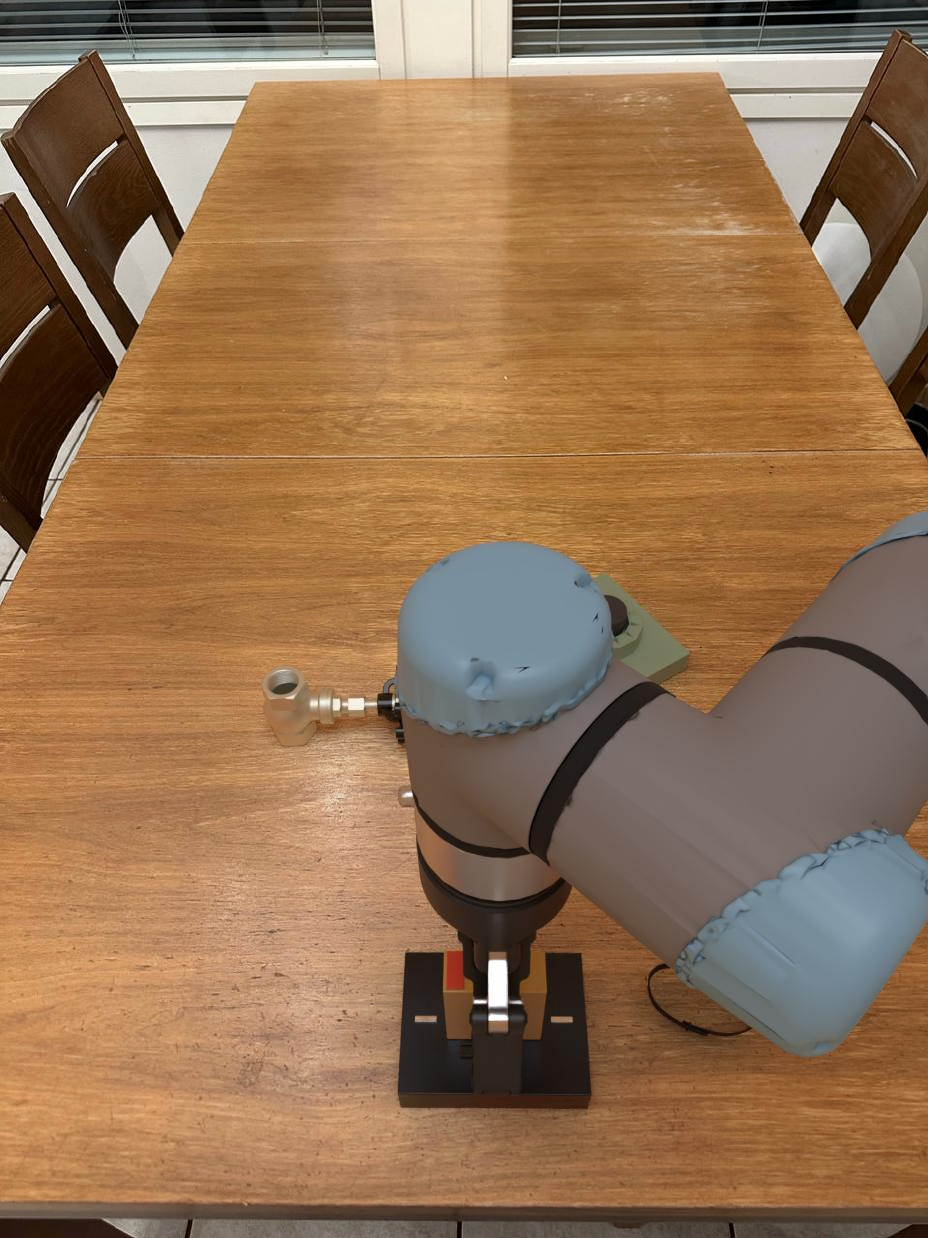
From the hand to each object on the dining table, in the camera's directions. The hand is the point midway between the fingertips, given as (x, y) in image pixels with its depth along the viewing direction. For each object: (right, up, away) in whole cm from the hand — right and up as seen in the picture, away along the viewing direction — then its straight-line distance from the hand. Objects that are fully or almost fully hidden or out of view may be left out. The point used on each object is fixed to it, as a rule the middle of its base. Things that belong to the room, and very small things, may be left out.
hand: (493, 1011), depth 60 cm
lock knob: (0, -1, +1) cm, 1 cm away
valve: (-12, +15, +21) cm, 29 cm away
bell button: (+10, +25, +23) cm, 35 cm away
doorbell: (+11, +22, +26) cm, 36 cm away
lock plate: (0, -3, +3) cm, 5 cm away
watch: (+14, -2, +5) cm, 15 cm away
